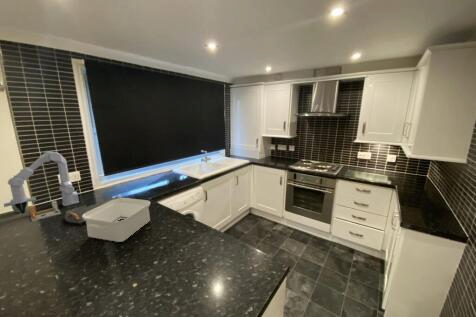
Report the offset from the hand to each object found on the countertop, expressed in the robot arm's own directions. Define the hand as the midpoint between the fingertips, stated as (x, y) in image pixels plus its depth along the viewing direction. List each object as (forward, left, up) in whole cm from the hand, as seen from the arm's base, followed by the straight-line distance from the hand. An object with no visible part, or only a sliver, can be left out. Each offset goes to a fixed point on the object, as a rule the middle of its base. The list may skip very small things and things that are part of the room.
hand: (23, 213), depth 133 cm
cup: (+1, -15, -4) cm, 15 cm away
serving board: (-37, +29, -4) cm, 47 cm away
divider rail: (-10, +3, -3) cm, 11 cm away
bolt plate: (-10, +8, -3) cm, 13 cm away
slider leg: (-5, +3, -3) cm, 6 cm away
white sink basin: (-39, +68, -4) cm, 78 cm away
